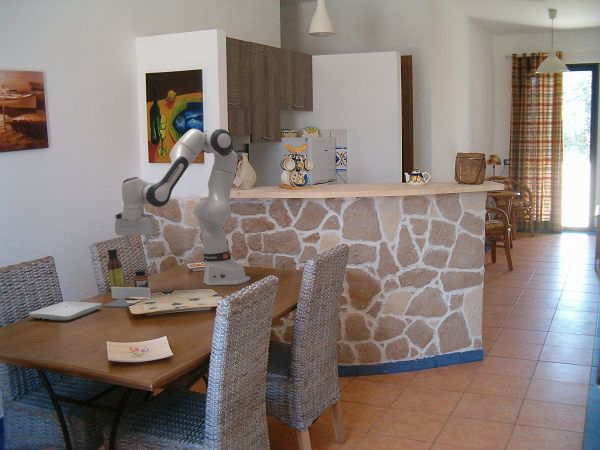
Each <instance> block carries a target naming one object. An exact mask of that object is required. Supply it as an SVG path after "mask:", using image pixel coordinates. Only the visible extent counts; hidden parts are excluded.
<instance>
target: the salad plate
mask: <svg viewBox="0 0 600 450" xmlns="http://www.w3.org/2000/svg"><path fill="white" fill-rule="evenodd" d="M102 304H103V303H101V302H100V303H99V302H86V301H84V302H83V301H62V302H59V303H58V302H57V303H55V304H52V305H49V306H45V307H43V308H40V309H36V310H34V311H31V312H28V315H29V316H31V317H32V318H36V319H40V318H42V319H41V320H44V319H49V320H48V321H60V322H61V321H62V322H63V321H71V320H75V319H77V318H79V317H82V316H85V315H88V314H91V313H92V312H94V311H96V310H98V309H99V308H100V307H102ZM66 306H67V307H66Z"/></svg>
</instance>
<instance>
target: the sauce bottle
mask: <svg viewBox="0 0 600 450" xmlns="http://www.w3.org/2000/svg"><path fill="white" fill-rule="evenodd" d="M117 252H118V251H117V248H116V247H114V248H113V247H112V248H108V249H107V253H108V262H107V269H108V276H109V284H110V288H111V287H125V282H124V281H125V280H124V273H123V269H122V264H121V261H120V260H119V258H118V254H117Z"/></svg>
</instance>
